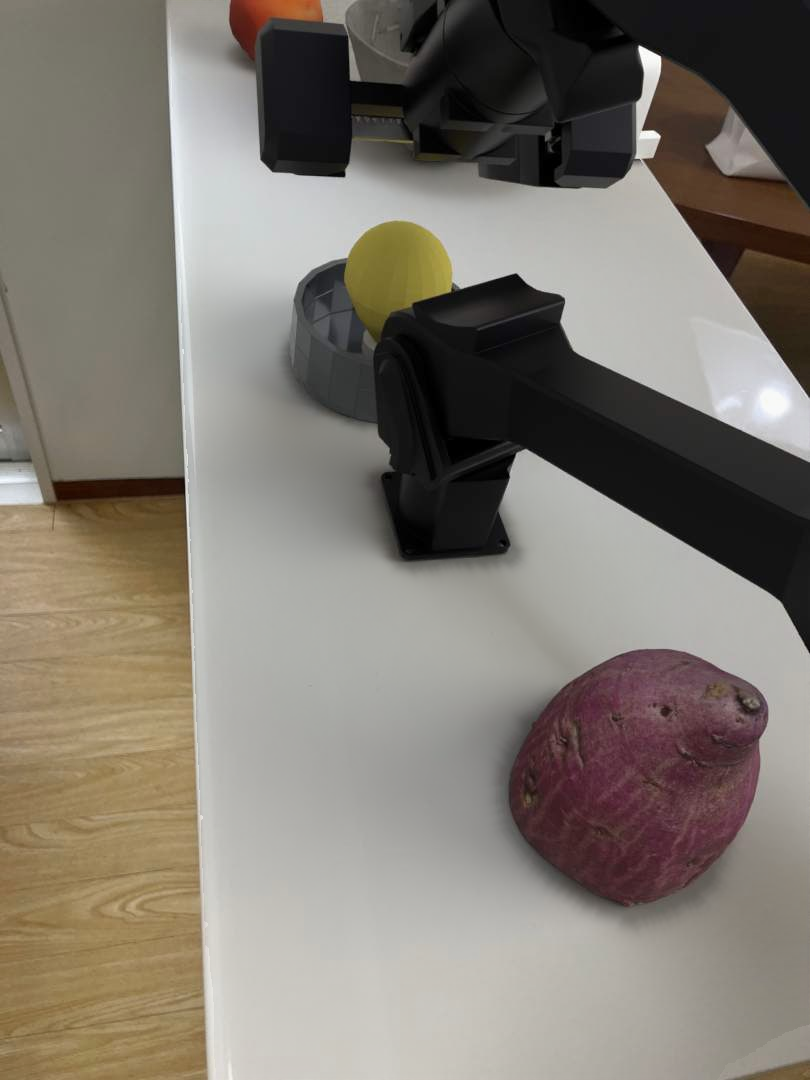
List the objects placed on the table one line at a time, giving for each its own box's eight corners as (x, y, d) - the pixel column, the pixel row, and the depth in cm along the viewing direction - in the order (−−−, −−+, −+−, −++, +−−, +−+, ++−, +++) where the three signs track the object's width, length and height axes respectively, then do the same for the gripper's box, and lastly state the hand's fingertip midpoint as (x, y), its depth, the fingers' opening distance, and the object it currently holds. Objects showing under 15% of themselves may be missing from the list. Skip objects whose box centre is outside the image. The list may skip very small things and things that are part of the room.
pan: (485, 421, 58) (501, 367, 54) (304, 426, 55) (310, 369, 51) (440, 311, 65) (453, 257, 62) (279, 310, 62) (282, 254, 59)
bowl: (455, 90, 91) (477, -18, 83) (570, 181, 82) (606, 69, 74) (296, 108, 82) (304, -10, 75) (404, 212, 73) (426, 88, 66)
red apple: (326, 84, 87) (334, -5, 81) (232, 77, 85) (234, -16, 79) (312, 45, 93) (319, -41, 87) (224, 37, 90) (225, -52, 84)
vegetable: (684, 935, 41) (928, 933, 28) (479, 869, 40) (628, 834, 27) (707, 723, 46) (924, 634, 33) (524, 659, 45) (670, 541, 32)
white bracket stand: (656, 157, 88) (694, 50, 81) (574, 162, 84) (606, 51, 77) (627, 134, 91) (662, 28, 84) (547, 137, 87) (575, 28, 80)
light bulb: (313, 366, 58) (328, 228, 50) (367, 320, 62) (388, 187, 55) (400, 411, 56) (428, 275, 49) (449, 361, 61) (482, 230, 53)
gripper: (709, -139, 37) (551, 32, 52) (269, -211, 32) (234, 0, 47) (709, 134, 39) (555, 224, 54) (284, 104, 34) (245, 213, 49)
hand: (406, 164), depth 51 cm, fingers open, 9 cm apart
